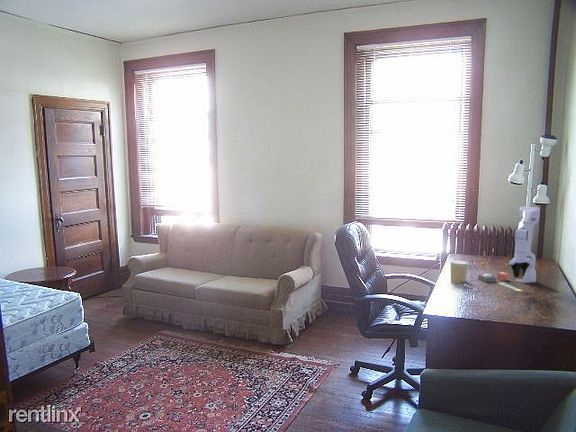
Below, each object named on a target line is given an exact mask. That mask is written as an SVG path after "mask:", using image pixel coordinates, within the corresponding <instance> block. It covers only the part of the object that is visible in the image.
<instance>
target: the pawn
mask: <svg viewBox="0 0 576 432" xmlns="http://www.w3.org/2000/svg"><path fill="white" fill-rule="evenodd" d="M514 279H516V280H517V279H523V269H521V268H520V271H519V276H518V277H514Z"/></svg>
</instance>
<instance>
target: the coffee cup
mask: <svg viewBox="0 0 576 432" xmlns="http://www.w3.org/2000/svg"><path fill="white" fill-rule="evenodd" d="M449 264H450V283H451V284H455V285H465V284H466V278H467V272H468V262H467V261H465V260H464V261H463V260H457V259H456V260H451V261H450V263H449Z"/></svg>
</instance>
